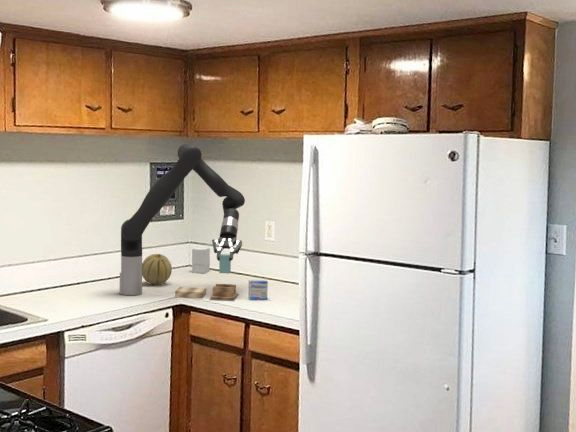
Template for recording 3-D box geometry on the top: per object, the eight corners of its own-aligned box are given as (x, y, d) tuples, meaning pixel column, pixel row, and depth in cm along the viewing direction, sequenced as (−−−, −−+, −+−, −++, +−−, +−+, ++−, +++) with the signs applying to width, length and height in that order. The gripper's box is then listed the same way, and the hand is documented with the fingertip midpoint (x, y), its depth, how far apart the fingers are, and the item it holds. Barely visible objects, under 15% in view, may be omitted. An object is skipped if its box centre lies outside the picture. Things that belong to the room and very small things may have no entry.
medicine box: (249, 300, 332) (250, 281, 331) (248, 298, 336) (248, 279, 336) (267, 300, 334) (267, 281, 333) (265, 298, 338) (266, 279, 337)
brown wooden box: (210, 299, 332) (210, 287, 331) (215, 293, 344) (215, 282, 343) (233, 300, 331) (233, 288, 330) (237, 294, 343) (237, 283, 342)
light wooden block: (175, 297, 334) (175, 291, 334) (180, 293, 344) (180, 286, 344) (202, 299, 333) (202, 292, 333) (206, 294, 343) (206, 288, 343)
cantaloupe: (155, 280, 374) (156, 250, 373) (178, 284, 366) (178, 253, 365) (133, 284, 362) (134, 253, 361) (156, 288, 354) (156, 256, 352)
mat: (208, 300, 330) (208, 300, 330) (215, 293, 346) (215, 292, 346) (233, 301, 329) (233, 301, 329) (239, 294, 345) (239, 293, 345)
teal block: (219, 273, 335) (219, 255, 334) (220, 271, 338) (220, 254, 337) (229, 273, 334) (229, 255, 334) (230, 272, 337) (230, 254, 337)
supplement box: (210, 271, 403) (210, 247, 402) (204, 273, 396) (205, 249, 395) (197, 270, 405) (197, 247, 404) (191, 272, 398) (191, 248, 397)
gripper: (212, 223, 342) (207, 254, 331) (244, 224, 341) (239, 255, 330) (214, 234, 348) (209, 264, 337) (245, 234, 347) (241, 265, 336)
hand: (224, 259), depth 334 cm, fingers closed on teal block, 4 cm apart
